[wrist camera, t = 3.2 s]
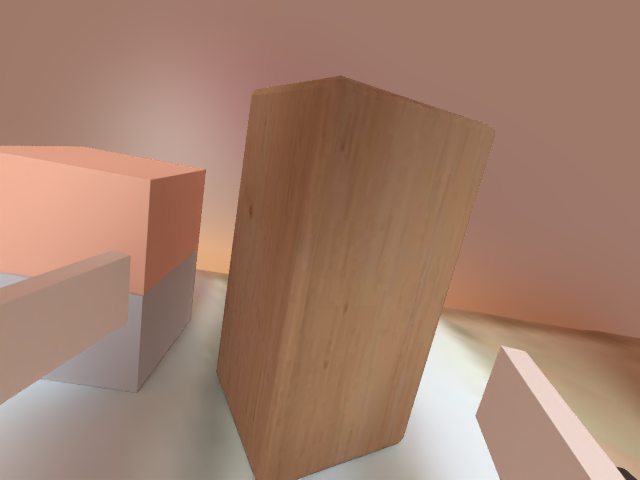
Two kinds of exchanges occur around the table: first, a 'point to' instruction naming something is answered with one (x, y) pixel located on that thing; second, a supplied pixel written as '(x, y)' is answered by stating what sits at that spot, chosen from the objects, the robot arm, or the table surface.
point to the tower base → (132, 334)
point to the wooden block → (340, 267)
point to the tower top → (96, 210)
